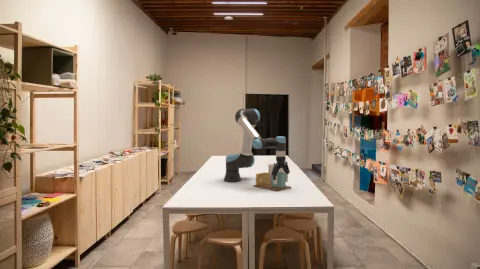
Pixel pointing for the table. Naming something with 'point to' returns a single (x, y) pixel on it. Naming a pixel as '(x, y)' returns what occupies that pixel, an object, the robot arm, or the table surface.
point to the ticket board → (266, 182)
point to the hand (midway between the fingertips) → (280, 182)
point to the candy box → (272, 170)
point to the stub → (280, 180)
